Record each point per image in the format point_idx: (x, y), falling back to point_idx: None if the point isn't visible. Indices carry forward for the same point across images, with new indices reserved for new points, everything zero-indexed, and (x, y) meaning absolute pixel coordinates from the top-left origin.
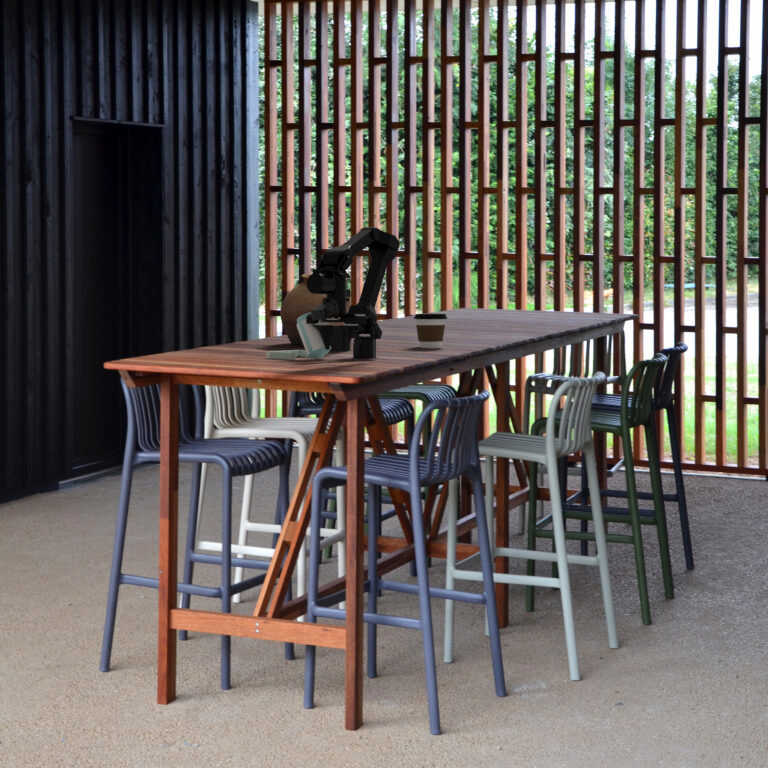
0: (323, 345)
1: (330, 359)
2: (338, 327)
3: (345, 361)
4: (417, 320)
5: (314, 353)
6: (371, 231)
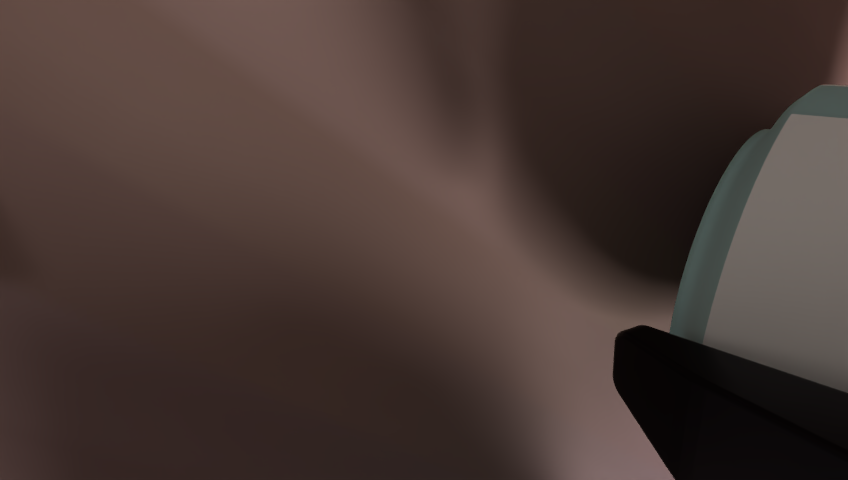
0: (747, 340)
1: (597, 358)
2: None
3: (2, 308)
4: None
5: (750, 143)
6: None
